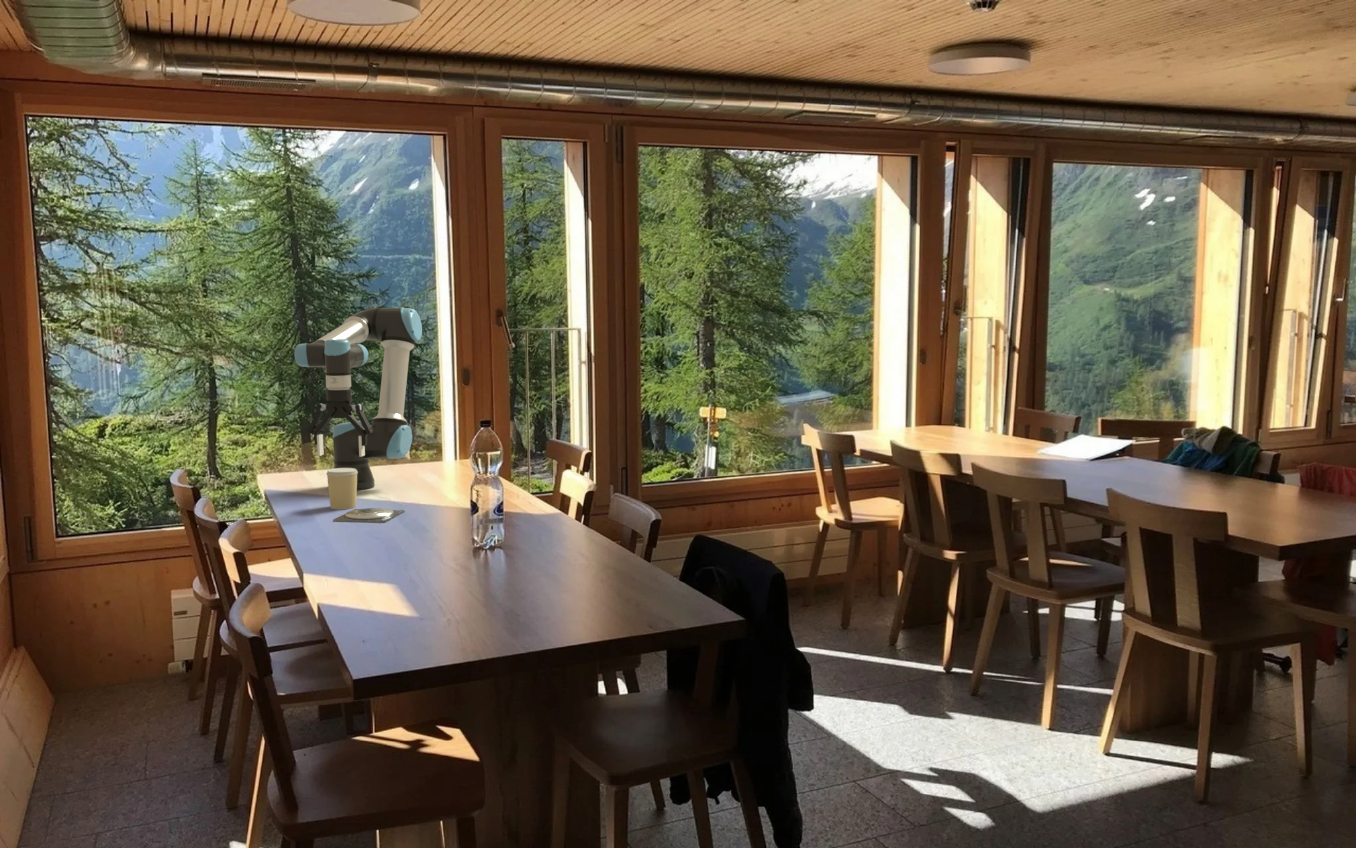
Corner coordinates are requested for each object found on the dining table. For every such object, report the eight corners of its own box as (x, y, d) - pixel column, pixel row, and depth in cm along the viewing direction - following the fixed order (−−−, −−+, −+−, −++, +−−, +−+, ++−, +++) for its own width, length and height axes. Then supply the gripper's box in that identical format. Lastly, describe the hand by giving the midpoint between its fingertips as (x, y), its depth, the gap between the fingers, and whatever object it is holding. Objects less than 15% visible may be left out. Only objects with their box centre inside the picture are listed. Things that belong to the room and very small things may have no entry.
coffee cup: (363, 504, 337) (362, 467, 336) (351, 510, 328) (350, 472, 327) (335, 504, 338) (334, 467, 337) (322, 509, 329) (321, 472, 327)
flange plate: (355, 510, 327) (355, 506, 327) (404, 511, 326) (404, 508, 326) (333, 521, 312) (333, 517, 311) (385, 522, 310) (384, 518, 310)
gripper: (295, 389, 326) (298, 456, 328) (372, 390, 323) (374, 458, 326) (306, 387, 333) (308, 453, 336) (381, 387, 330) (384, 454, 333)
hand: (341, 455), depth 331 cm, fingers open, 13 cm apart
